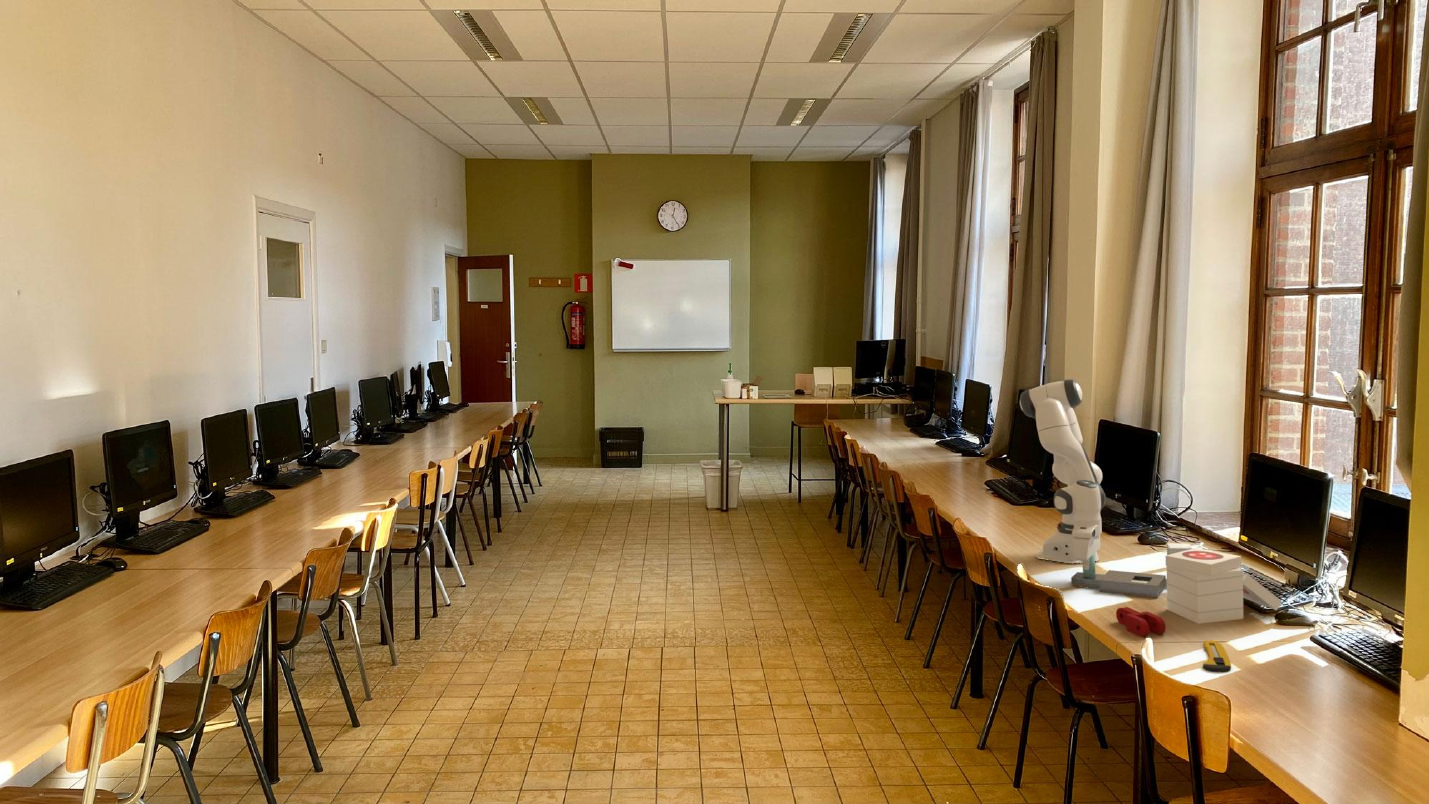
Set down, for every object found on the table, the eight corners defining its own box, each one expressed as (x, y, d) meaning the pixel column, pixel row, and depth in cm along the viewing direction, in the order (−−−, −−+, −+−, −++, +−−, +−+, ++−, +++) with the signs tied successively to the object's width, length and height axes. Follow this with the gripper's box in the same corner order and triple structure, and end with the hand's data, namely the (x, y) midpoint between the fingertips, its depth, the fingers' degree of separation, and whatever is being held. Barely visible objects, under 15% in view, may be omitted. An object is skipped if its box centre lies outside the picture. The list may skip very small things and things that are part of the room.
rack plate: (1069, 588, 324) (1068, 576, 324) (1079, 578, 336) (1079, 566, 335) (1157, 597, 308) (1157, 585, 308) (1165, 587, 320) (1165, 574, 319)
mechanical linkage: (1165, 636, 273) (1165, 619, 272) (1144, 639, 271) (1143, 622, 271) (1130, 620, 288) (1129, 604, 288) (1109, 623, 287) (1109, 606, 286)
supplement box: (1190, 579, 328) (1190, 543, 327) (1193, 584, 321) (1193, 548, 320) (1167, 578, 330) (1166, 542, 329) (1169, 584, 323) (1169, 547, 322)
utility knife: (1204, 672, 245) (1204, 665, 244) (1193, 644, 266) (1193, 637, 266) (1234, 674, 242) (1234, 667, 242) (1221, 645, 263) (1220, 638, 263)
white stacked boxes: (1287, 616, 284) (1286, 557, 282) (1195, 626, 279) (1194, 566, 278) (1242, 598, 302) (1242, 543, 301) (1156, 608, 298) (1155, 551, 297)
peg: (1081, 577, 327) (1081, 554, 326) (1084, 574, 330) (1084, 551, 329) (1093, 578, 324) (1093, 555, 324) (1096, 575, 327) (1096, 552, 327)
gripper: (1086, 521, 336) (1086, 559, 337) (1070, 533, 319) (1071, 573, 320) (1104, 522, 332) (1105, 561, 333) (1090, 534, 316) (1091, 575, 317)
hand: (1088, 567), depth 327 cm, fingers closed on peg, 4 cm apart
